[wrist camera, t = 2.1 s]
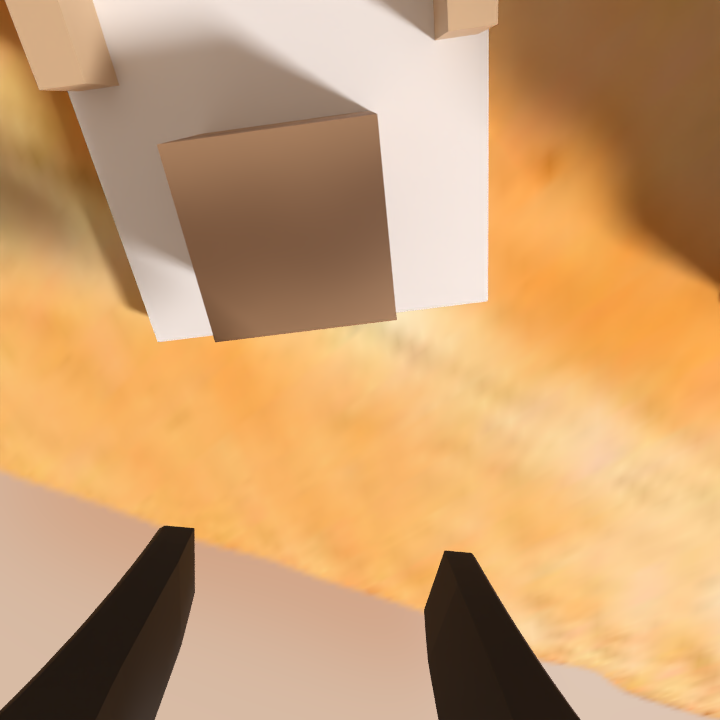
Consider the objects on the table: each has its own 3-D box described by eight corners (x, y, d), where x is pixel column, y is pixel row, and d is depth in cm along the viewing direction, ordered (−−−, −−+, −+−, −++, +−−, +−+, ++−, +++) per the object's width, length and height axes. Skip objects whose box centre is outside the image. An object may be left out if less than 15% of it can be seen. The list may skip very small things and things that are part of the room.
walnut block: (385, 273, 17) (396, 320, 13) (242, 291, 17) (215, 342, 13) (369, 110, 14) (377, 114, 11) (202, 133, 14) (156, 144, 11)
